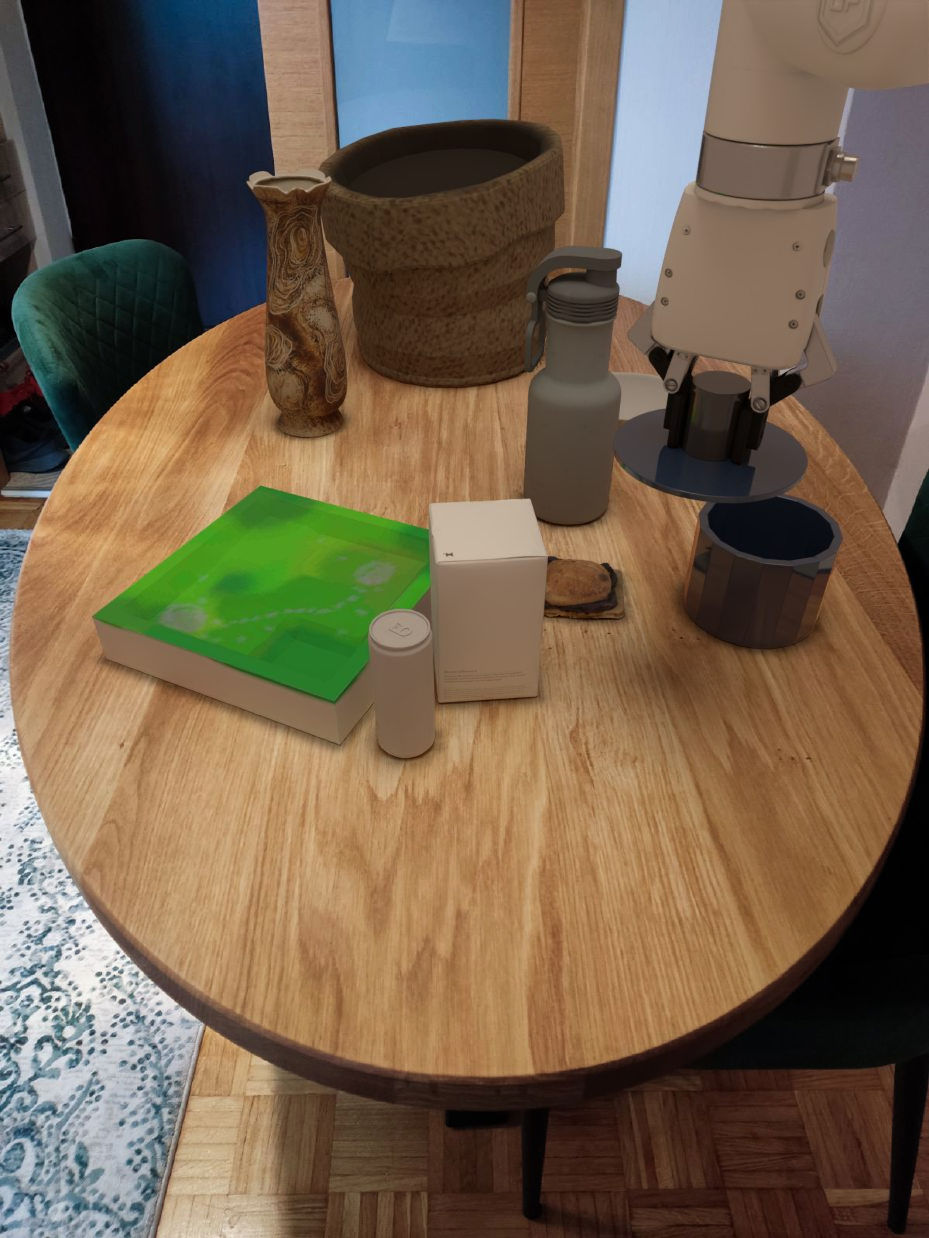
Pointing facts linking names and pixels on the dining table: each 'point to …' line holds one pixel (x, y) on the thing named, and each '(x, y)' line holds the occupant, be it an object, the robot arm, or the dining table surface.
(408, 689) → the beverage can
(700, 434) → the lid
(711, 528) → the enamel pot
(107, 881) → the dining table surface
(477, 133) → the pot
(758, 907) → the dining table surface
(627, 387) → the dish
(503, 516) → the white product box
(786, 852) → the dining table surface
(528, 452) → the water bottle
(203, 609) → the flat green box
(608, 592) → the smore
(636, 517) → the dining table surface
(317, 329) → the vase
